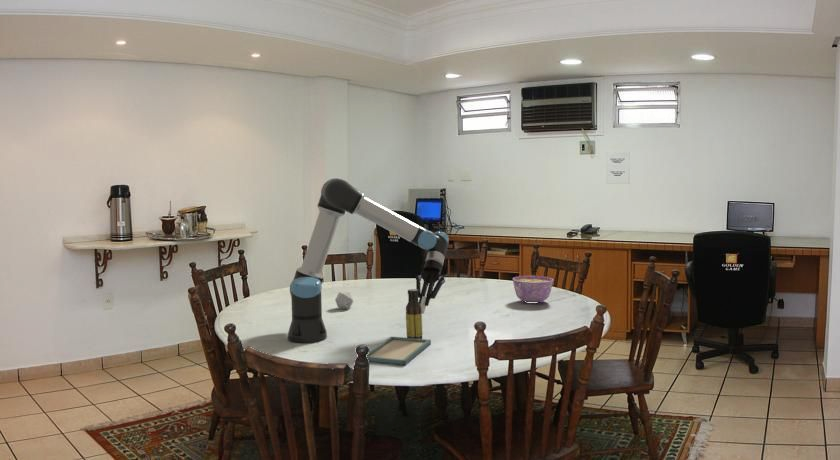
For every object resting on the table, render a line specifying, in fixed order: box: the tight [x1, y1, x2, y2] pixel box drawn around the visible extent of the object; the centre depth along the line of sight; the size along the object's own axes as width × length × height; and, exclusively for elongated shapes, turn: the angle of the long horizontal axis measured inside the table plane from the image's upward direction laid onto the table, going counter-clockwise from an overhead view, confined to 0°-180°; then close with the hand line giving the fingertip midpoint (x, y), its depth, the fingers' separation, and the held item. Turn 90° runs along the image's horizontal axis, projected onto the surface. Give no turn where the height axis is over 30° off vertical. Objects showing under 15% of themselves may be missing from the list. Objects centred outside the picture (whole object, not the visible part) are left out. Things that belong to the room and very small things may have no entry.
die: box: [334, 291, 354, 310], centre depth 308 cm, size 8×9×10 cm
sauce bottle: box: [405, 288, 424, 339], centre depth 250 cm, size 6×6×20 cm
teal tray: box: [367, 336, 432, 367], centre depth 234 cm, size 28×16×2 cm, turn 161°
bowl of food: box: [512, 275, 554, 303], centre depth 320 cm, size 20×20×12 cm
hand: (421, 311), depth 258 cm, fingers closed
